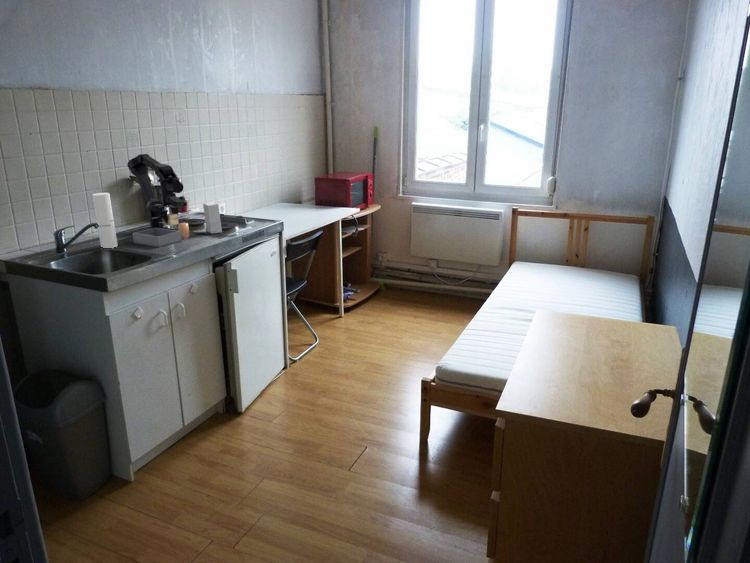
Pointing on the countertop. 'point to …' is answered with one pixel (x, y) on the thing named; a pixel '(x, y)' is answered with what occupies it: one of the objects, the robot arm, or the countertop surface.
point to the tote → (157, 237)
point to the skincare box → (212, 218)
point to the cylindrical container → (105, 220)
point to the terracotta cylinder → (184, 230)
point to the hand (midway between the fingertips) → (171, 222)
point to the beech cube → (172, 219)
